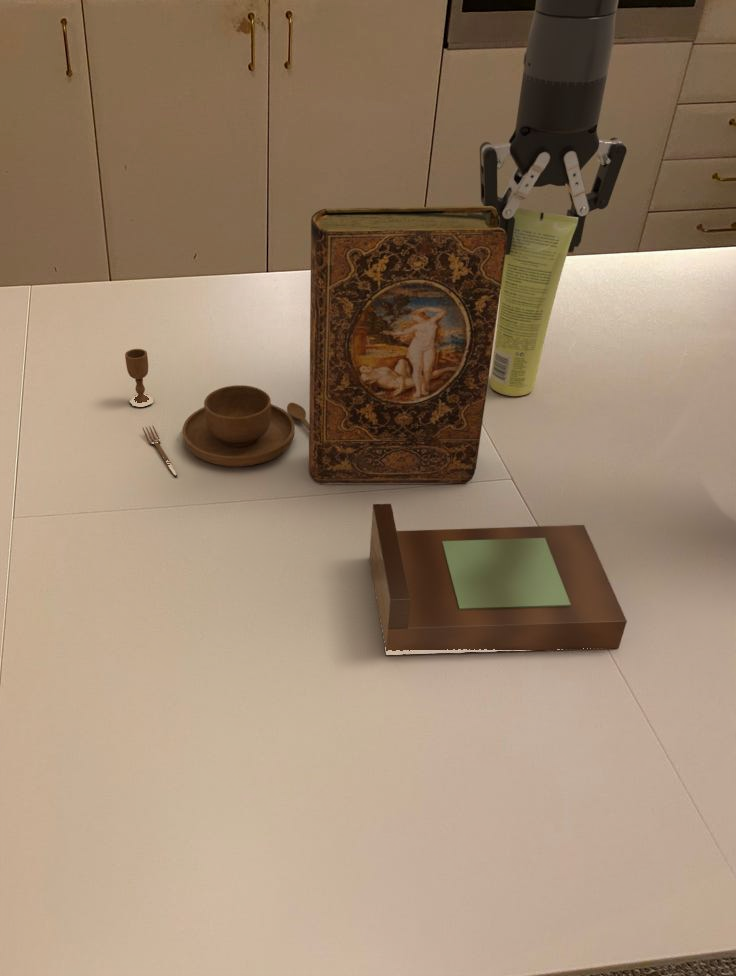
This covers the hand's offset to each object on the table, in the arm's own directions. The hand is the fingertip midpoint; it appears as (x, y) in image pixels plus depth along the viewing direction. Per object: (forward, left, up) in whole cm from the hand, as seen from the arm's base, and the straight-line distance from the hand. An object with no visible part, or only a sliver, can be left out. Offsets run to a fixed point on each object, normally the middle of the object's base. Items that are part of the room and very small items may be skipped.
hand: (535, 250), depth 102 cm
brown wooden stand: (+10, +37, -16) cm, 41 cm away
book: (+16, +16, -16) cm, 28 cm away
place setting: (+33, +6, -16) cm, 37 cm away
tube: (0, 0, -16) cm, 16 cm away
